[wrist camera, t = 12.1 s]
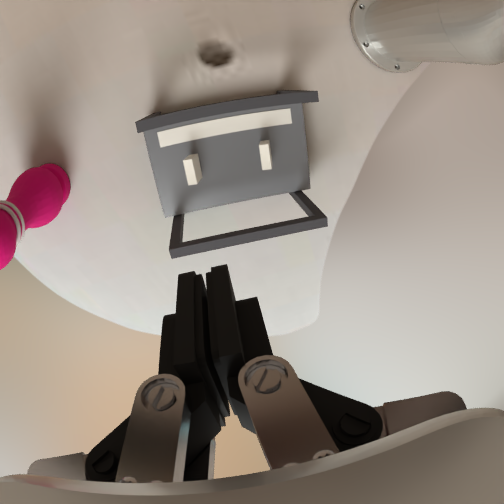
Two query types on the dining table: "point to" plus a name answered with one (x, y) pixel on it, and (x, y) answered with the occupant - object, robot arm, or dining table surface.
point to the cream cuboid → (265, 155)
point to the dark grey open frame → (251, 234)
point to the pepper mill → (31, 205)
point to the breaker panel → (229, 158)
